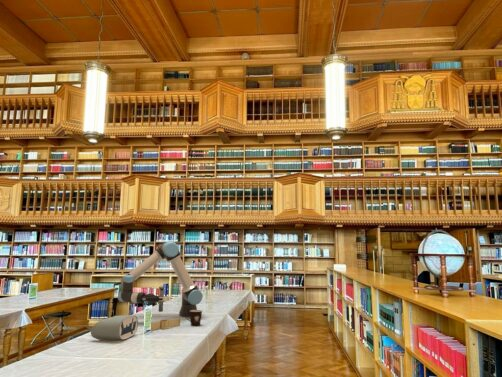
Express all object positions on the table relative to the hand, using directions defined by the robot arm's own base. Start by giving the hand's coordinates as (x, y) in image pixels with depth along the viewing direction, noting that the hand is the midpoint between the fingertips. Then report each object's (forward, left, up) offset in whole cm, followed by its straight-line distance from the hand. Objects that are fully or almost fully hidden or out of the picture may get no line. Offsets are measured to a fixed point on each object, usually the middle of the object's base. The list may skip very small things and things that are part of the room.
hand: (168, 299), depth 270 cm
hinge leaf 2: (+2, +7, -18) cm, 19 cm away
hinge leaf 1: (+12, +7, -18) cm, 23 cm away
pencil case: (+44, +9, -18) cm, 49 cm away
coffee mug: (-14, +13, -18) cm, 26 cm away
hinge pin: (+3, -5, -9) cm, 10 cm away
